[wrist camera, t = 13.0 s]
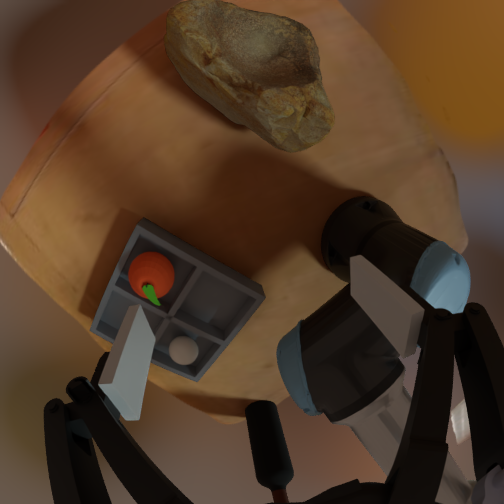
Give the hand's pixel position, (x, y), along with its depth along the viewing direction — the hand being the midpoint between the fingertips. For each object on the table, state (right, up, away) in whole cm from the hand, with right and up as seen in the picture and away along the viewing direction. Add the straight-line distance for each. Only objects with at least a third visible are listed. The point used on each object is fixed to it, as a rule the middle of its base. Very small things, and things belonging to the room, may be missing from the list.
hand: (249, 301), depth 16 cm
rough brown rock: (+1, +29, +18) cm, 34 cm away
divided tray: (-13, -6, +29) cm, 33 cm away
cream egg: (-12, -13, +31) cm, 36 cm away
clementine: (-15, 0, +26) cm, 30 cm away
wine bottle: (+2, -35, +43) cm, 55 cm away
